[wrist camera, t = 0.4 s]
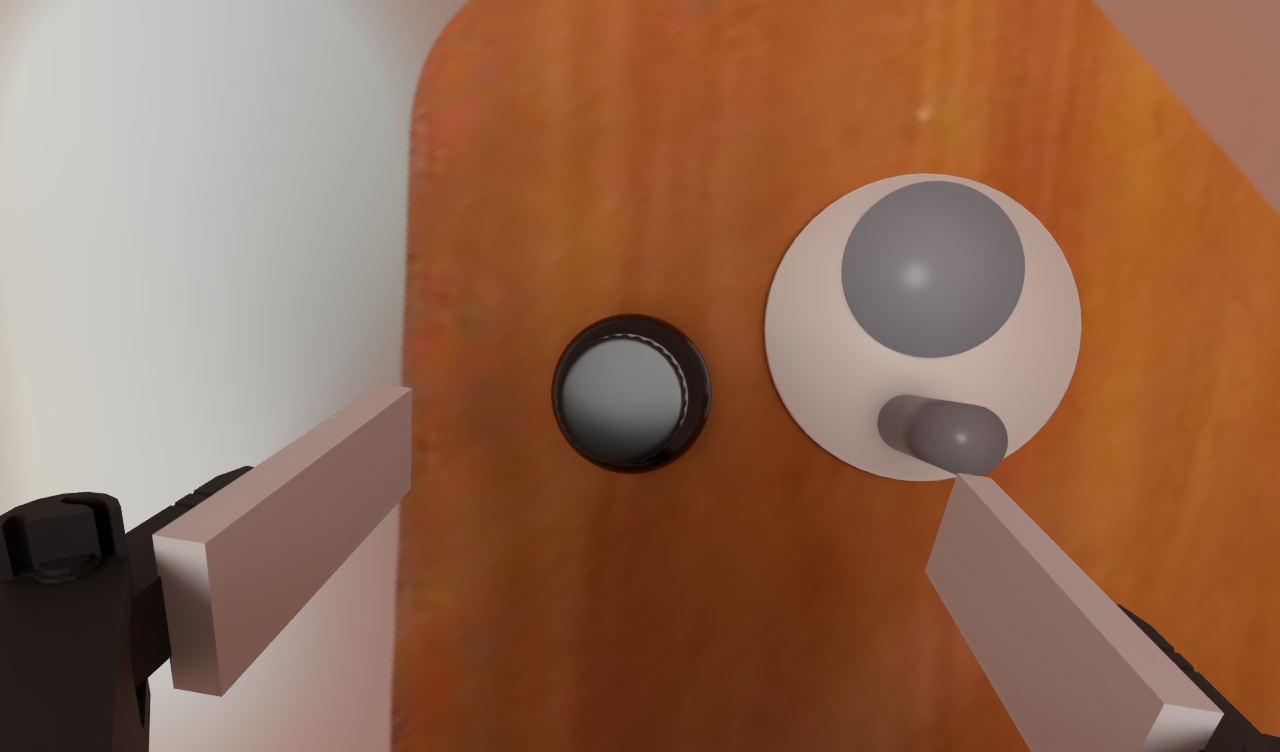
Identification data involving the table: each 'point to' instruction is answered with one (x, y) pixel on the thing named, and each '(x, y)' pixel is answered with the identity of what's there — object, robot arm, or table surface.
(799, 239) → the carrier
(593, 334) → the supplement bottle
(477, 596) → the table surface
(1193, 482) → the table surface
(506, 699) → the table surface
